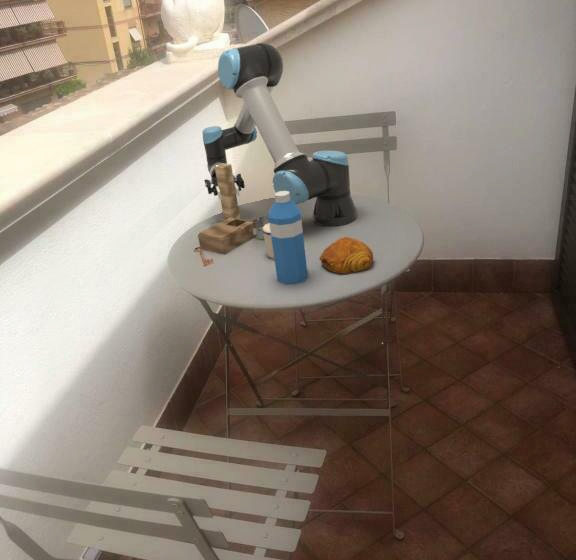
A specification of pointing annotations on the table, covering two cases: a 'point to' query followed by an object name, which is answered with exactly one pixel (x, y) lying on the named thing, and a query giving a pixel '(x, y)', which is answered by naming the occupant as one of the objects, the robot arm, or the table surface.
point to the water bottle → (287, 240)
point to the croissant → (347, 256)
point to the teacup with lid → (268, 241)
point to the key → (203, 257)
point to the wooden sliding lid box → (226, 235)
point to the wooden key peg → (227, 191)
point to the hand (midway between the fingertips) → (228, 193)
